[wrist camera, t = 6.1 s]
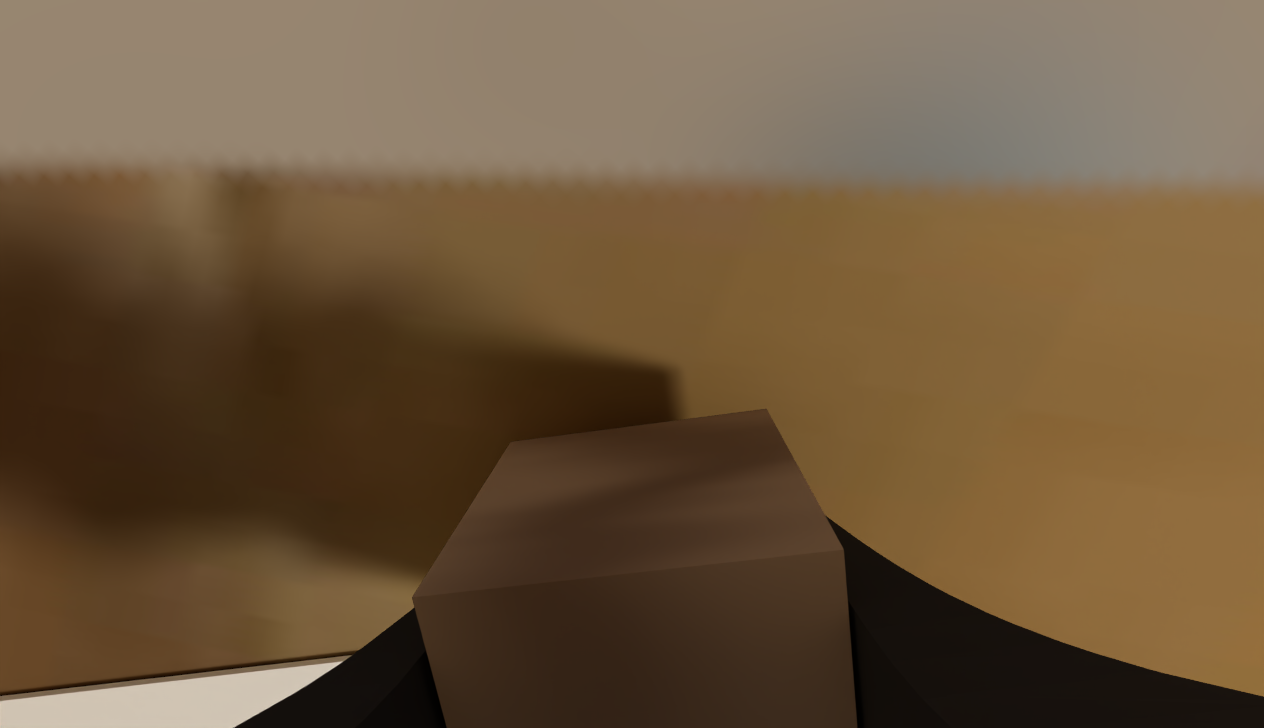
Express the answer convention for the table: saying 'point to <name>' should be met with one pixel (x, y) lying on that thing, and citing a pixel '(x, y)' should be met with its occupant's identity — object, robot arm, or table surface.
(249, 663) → the table surface
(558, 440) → the wooden cube
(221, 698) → the board
